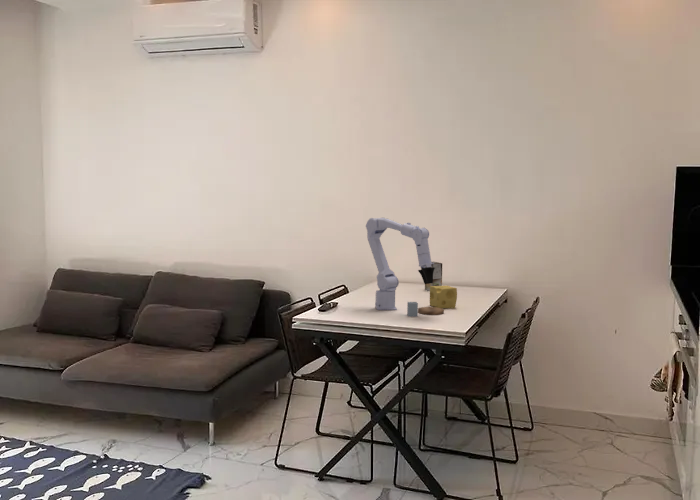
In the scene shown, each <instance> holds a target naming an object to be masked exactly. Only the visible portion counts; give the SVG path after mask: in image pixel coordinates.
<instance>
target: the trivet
mask: <svg viewBox="0 0 700 500" xmlns="http://www.w3.org/2000/svg"><path fill="white" fill-rule="evenodd" d="M418 314H420V315H429V316H437V315H438V316H439V315H444V314H445V308H443V309H442V308H437V307H433V306H424V307H423V306H422V307H418Z"/></svg>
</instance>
